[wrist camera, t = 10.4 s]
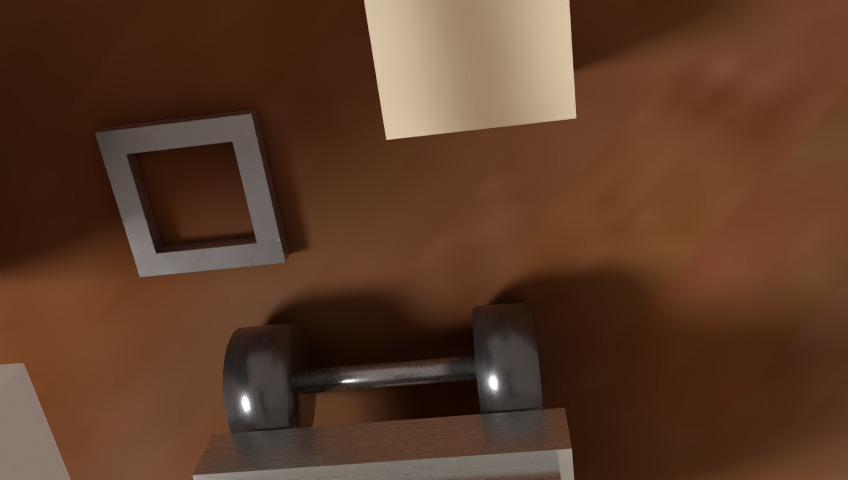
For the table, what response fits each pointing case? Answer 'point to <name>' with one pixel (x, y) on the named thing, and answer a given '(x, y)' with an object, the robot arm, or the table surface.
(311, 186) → the table surface
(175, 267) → the collar
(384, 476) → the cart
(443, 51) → the block
